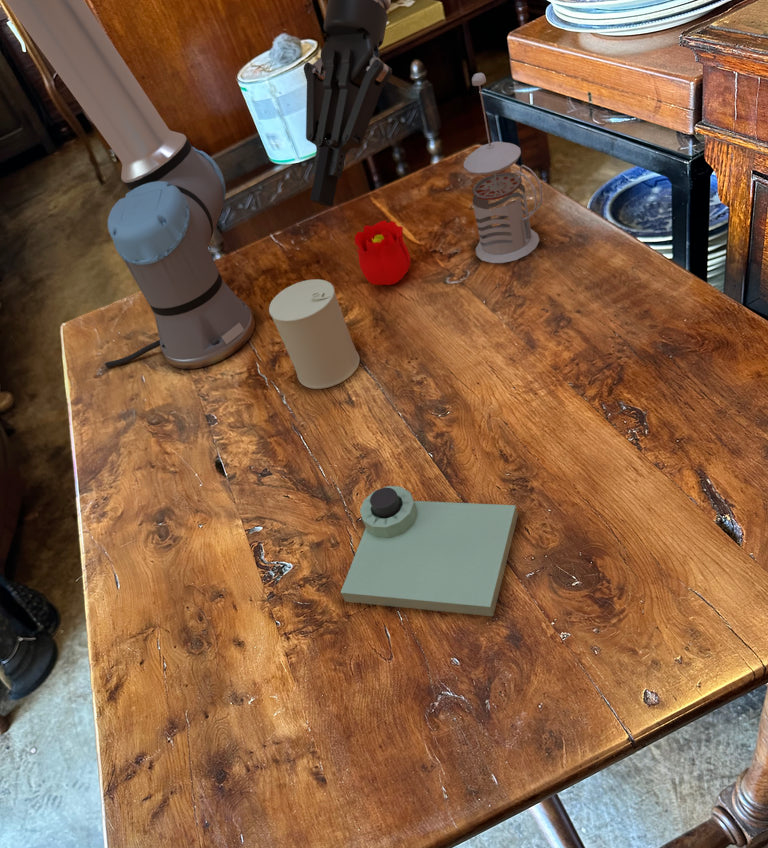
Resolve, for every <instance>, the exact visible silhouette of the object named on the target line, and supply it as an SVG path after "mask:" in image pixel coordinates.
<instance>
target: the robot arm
mask: <svg viewBox="0 0 768 848" xmlns="http://www.w3.org/2000/svg"><path fill="white" fill-rule="evenodd" d="M4 1H5V3H6V4H7V6H8V7H9V8H10V10H11V11H12V13H13V14H14V15H15V17H16V18H17V19H18V21H19V22H20V23H21V25H22V26H23V28H24V29H25V31H26V32H27V33H28V34H29V36H30V37H31V39H32V40H33V42H34V43H35V44H36V46H37V47H38V48H39V50H40V51H41V53H42V54H43V56H44V57H45V58H46V60H47V61H48V62H49V63H50V65H51V67H52V68H53V69H54V71H55V72H56V73H57V75H58V76H59V78H60V79H61V81H62V82H63V83H64V84H65V86H66V87H67V89H68V90H69V91H70V93H71V94H72V95H73V97H74V98H75V100H76V101H77V102H78V104H79V105H80V106H81V108H82V110H83V111H84V113H86V115H87V116H88V118H89V119H90V120H91V122H92V124H94V127H96V129H97V130H98V132H99V133H100V135H101V136H102V137H103V139H104V140H105V141H106V143H107V145H109V147H110V148H111V149H112V151H113V153H114V154H115V156H116V157H117V158H118V159H119V161H120V162H121V176H120V179H121V181H122V182H123V184H124V185H125V186H126V188H127V189H128V192H127V193H125V197H123V198H119V199H118V200H117V201H116V203H115V204H114V205H113V206H112V208H111V210H110V212H109V214H108V218H107V231H108V233H109V236H110V238H111V239H112V241H113V246H114V247H115V250H116V252H117V253H118V255H119V256H120V257H121V259H122V261H123V262H124V264H125V265H126V267H127V269H128V271H129V272H130V274H131V276H132V278H133V280H134V281H135V283H136V285H137V287H138V288H139V290H140V292H141V293H142V295H143V297H144V298H145V300H146V302H147V303H148V306H149V307H150V309H151V311H152V313H153V315H154V319H155V325H156V329H157V333H158V334H157V335H158V340H156V341H154V342H152V343H150V344H147V345H146V346H144V347H141V348H140V349H139V350H137V351H135V352H134V353H131V354H129V355H127V356H125V357H121V358H118V359H115V360H111V361H107V362H105V364H104V365H105V367H106V368H107V369H109V368H112V367H116V366H121V365H125V364H127V363H130V362H132V361H133V360H136V359H138V358H139V357H141V356H143V355H144V354H147V353H148V352H150V351H152V350H154V349H156V348H158V347H160V350H161V352H162V354H163V355H164V357H165V359H166V361H167V362H168V363H169V364H170V365H171V366H173V367H175V368H177V369H185V370H191V369H192V370H193V369H194V370H195V369H199V368H205V367H208V366H212V365H214V364H216V363H220V362H221V361H223V360H226V358H228V357H230V356H232V355H233V354H235V353H236V352H238V351H239V350H240V349H241V348H242V347H243V346H244V345H246V343H248V341H249V339H250V338H251V337H252V335H253V334H254V331H255V326H256V321H255V318H254V316H253V313H252V310H251V309H250V307H249V306H248V305H247V304H246V303H245V302H244V301H243V300H242V299H240V298H239V297H238V295H236V293H234V291H233V290H232V289H231V288H230V287H229V285H228V284H227V283H226V282H225V280H224V279H223V277H222V274H221V272H220V271H219V268H218V267H217V264H216V262H215V260H214V258H213V256H212V254H211V252H210V249H209V246H210V243H211V241H212V238H213V235H214V233H215V230H216V228H217V225H218V223H219V221H220V219H221V218H222V215H223V212H224V208H225V203H226V194H227V191H226V190H227V189H226V182H225V179H224V175H223V173H222V171H221V169H220V167H219V165H218V164H217V162H216V161H215V160H214V159H213V158H212V157H211V156H210V155H208V154H207V153H206V152H204V151H203V150H199V149H197V148H195V146H192V144H191V142H190V140H189V139H188V137H187V136H186V135H185V134H184V133H181V132H177V131H174V130H171V129H170V128H169V127H168V125H167V124H166V122H165V121H164V119H163V118H162V116H161V115H160V114H159V112H158V110H157V109H156V108H155V106H154V104H153V102H152V101H151V100H150V98H149V97H148V95H147V94H146V92H145V91H144V89H143V88H142V86H141V85H140V83H139V82H138V80H137V78H136V77H135V75H134V73H133V72H132V71H131V69H130V68H129V66H128V65H127V64H126V62H125V61H124V59H123V57H122V56H121V54H120V53H119V51H118V50H117V48H116V46H115V45H114V43H113V42H112V41H111V39H110V38H109V36H108V35H107V33H106V32H105V30H104V29H103V27H102V25H101V24H100V23H99V21H98V19H97V17H96V16H95V14H93V12H92V10H91V9H90V7H89V6H88V4H87V3H86V1H85V0H4ZM391 1H392V0H327V5H326V9H325V10H326V11H325V16H324V21H323V30H324V35H325V41H324V45H323V47H322V49H321V50H320V57H319V58H318V59H317V60H316V61H315V62H314V63H313V64H312V63H311V62H309V61H308V62H305V63H304V66H303V73H304V76H305V79H306V104H305V105H306V106H305V107H306V109H305V111H306V112H305V116H306V117H305V140H307V141H308V142H310V143H311V144H313V145H315V147H316V149H315V150H316V151H315V155H314V161H313V167H312V173H313V175H314V177H313V184H312V189H311V194H310V199H309V200H310V201H312V202H313V203H316V204H318V205H321V206H323V207H330V208H331V207H332V208H333V207H334V201H335V196H336V191H337V186H338V181H339V179H341V178H342V176H343V172H344V166H345V162H346V156H347V153H349V152H350V150H352V149H359V148H361V146H362V144H363V141H364V138H365V136H366V133H367V131H368V128H369V125H370V123H371V119H372V117H373V115H374V112H375V109H376V106H377V104H378V101H379V99H380V95H381V93H382V91H383V89H384V87H385V85H386V83H387V82H388V81H389V79H390V78H391V76H392V74H393V69H392V68H391V67H390V66H388V65H387V64H385V62H383V61H382V60H381V59H380V47H381V46H382V45H383V43H384V39H385V33H386V29H387V23H388V20H389V16H388V15H389V14H388V12H387V11H388V10H389V9H390V7H391Z"/></svg>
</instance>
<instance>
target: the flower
mask: <svg viewBox="0 0 768 848" xmlns="http://www.w3.org/2000/svg"><path fill="white" fill-rule="evenodd" d="M403 234H404V227H403V226H400V225H398V224H397V223H396V222H395V221H393V220H392V221H389V222H388V221H387V220H381V221H378V222H377V223H375V224H373V225H367V224H366V225H364V227H363V231H358V232H357V233H356V234H355V235H354V241H353V243H354V244H355V245H356V248H355V249H356V251H357V254H358V263H359V268H360V269H361V273H362V274H363V276H364V277H365V279H366V281H368V282H369V283H370V284H371V285H374V286H392V285H395V284H397V283H398V282H400V281H401V280H402V279H403V277H404V276H405V275H406V274H407V273H408V271H409V269H410V267H411V263H412V262H411V261H412V259H411V254H410V252H409V249H408V247H407V245H406V243H405V241H404V237H403Z"/></svg>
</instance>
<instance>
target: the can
mask: <svg viewBox="0 0 768 848" xmlns="http://www.w3.org/2000/svg"><path fill="white" fill-rule="evenodd" d="M335 291H336V290H335V287H334V285H333V284H332V283H331V282H329V281H328V280H324V279H318V278H317V279H315V278H314V279H313V278H312V279H306V280H302V281H299V282H295V283H294V284H292V285H289V286H287V287H286V288H284V289H282V290H281V291H280V292H278V293H277V294H276V295H275V296H274V297H273V299H272V300H271V302H270V303H269V306H268V313H269V315H270V317H271V318H272V321H273V323H274V325H275V327H276V329H277V331H278V333H279V336H280V338H281V341H282V342H283V345H284V347H285V349H286V352H287V353H288V354H287V355H288V357H289V358H290V361H291V363H292V365H293V368H294V370H295V372H296V376H297V380H298V381H299V383H300V384H301V385H302V386H304V387H306V388H307V389H312V390H323V389H328V388H332V387H335V386H337V385H340V384H341V383H343V382H345V381H346V380H348V379H349V378H350V377H352V376H353V375H354V374H355V372H357V369H358V368H359V365H360V362H361V361H360V359H361V358H360V355H359V352H358V351H357V350H356V347H355V345H354V342H353V339H352V336H351V334H350V331H349V329H348V325H347V322H346V320H345V317H344V314H343V312H342V308H341V305H340V303H339V300H338V297H337V295H336V292H335Z"/></svg>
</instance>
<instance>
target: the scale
mask: <svg viewBox="0 0 768 848" xmlns="http://www.w3.org/2000/svg"><path fill="white" fill-rule="evenodd" d="M383 488H392V489H393V490H395V491H396V493H397V496H398V498H399V501H400V504H401V507H400V510H399V512H398V513H397V514H396V515H394V516H392V517H389V518H379V517H378V516H376V515H375V513H374V510H373V508H372V506H371V503H370V498H371V496H372V494H373V493H374V492H375V491H377V490H378V489H375V490H373V491H372V492H371V493H370V494H369V495H368V496H366V497H365V498H364V499H363V502H362V504H361V507H360V509H359V512H360V516H361V519H362V522H363V525H364V527H365V528H364V531H363V533H362V536H361V538H360V541H359V543H358V546H357V549H356V552H355V554H354V557H353V558H352V562H351V564H350V566H349V570H348V572H347V575H346V577H345V580H344V582H343V585H342V587H341V589H340V594H341V597H342V599H343V600H344V602H347V603H355V604H356V603H357V604H366V605H376V606H384V607H396V608H406V609H413V610H414V609H415V610H425V611H435V612H444V613H454V614H463V615H473V616H474V615H475V616H485V617H494V616H495V611H496V608H497V603H498V599H499V595H500V591H501V586H502V583H503V578H504V574H505V570H506V567H507V562H508V558H509V553H510V550H511V545H512V541H513V539H514V534H515V529H516V525H517V521H518V518H519V513H518V508H517V506H516V505H515V504H498V503H497V504H496V503H473V502H453V501H451V502H449V501H429V500H428V501H427V500H414V497H413V495H412V492H411V491H409V490H407V489H405V488H404V487H402V486H400V485H399V486H398V485H397V486H396V485H387V486H383Z"/></svg>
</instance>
